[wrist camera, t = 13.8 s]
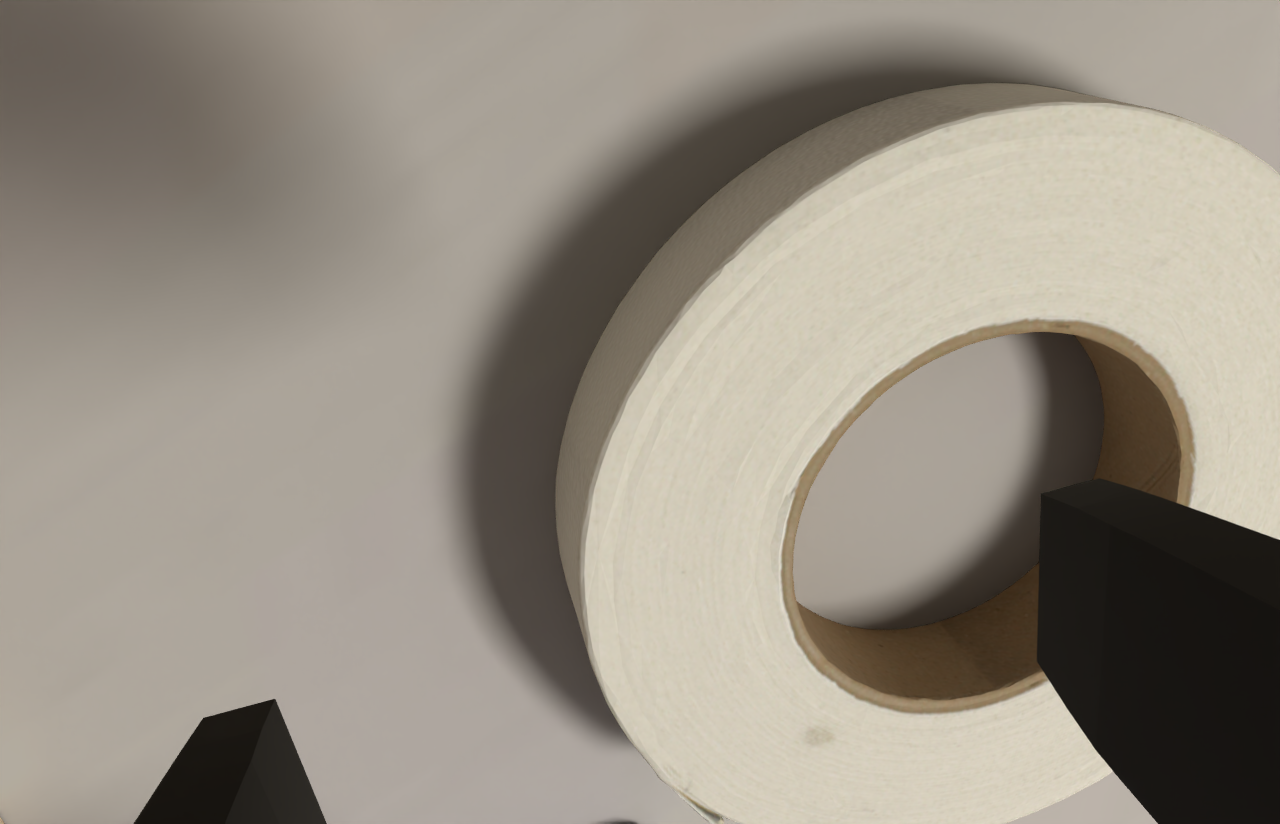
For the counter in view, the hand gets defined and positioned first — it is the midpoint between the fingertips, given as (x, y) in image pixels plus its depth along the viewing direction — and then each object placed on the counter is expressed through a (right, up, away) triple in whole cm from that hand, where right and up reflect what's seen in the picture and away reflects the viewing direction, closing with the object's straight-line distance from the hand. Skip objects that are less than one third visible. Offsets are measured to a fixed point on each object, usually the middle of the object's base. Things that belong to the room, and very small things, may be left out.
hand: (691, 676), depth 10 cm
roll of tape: (+5, +1, +12) cm, 13 cm away
